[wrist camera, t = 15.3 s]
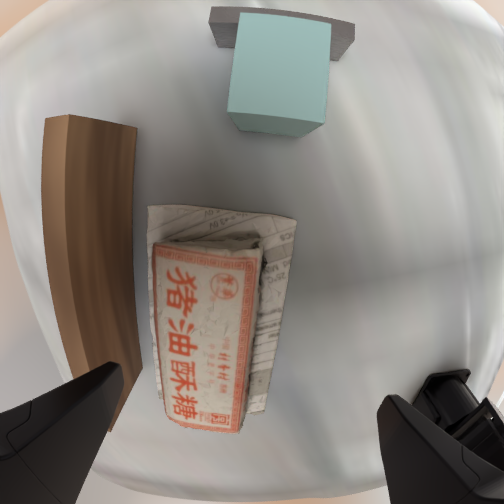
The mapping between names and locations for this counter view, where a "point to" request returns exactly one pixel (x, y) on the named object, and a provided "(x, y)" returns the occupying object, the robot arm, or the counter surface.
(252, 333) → the packaged product
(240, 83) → the pale teal block
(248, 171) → the counter surface
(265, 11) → the block
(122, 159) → the walnut bookend
